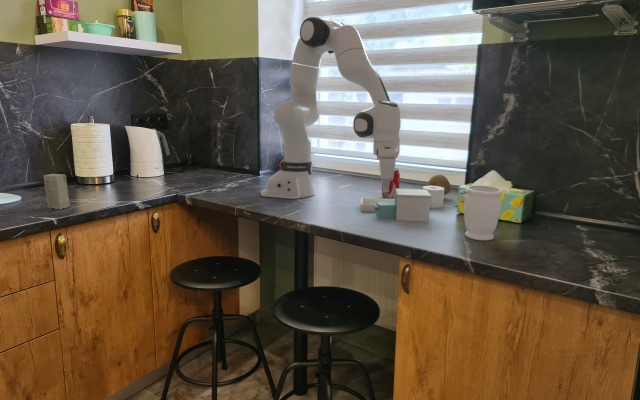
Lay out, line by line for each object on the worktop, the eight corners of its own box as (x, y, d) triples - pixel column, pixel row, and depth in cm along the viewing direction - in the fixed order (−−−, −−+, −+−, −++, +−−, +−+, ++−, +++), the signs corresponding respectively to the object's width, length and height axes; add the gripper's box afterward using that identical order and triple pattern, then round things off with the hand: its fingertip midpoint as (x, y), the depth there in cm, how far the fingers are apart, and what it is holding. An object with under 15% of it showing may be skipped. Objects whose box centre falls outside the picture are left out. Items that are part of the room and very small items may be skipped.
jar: (456, 231, 143) (460, 185, 140) (487, 231, 144) (492, 185, 140) (469, 242, 133) (474, 192, 129) (503, 242, 134) (509, 192, 130)
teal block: (375, 219, 157) (375, 205, 156) (372, 215, 162) (373, 201, 160) (412, 218, 158) (413, 205, 157) (408, 215, 163) (409, 201, 161)
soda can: (398, 199, 185) (400, 170, 182) (381, 198, 186) (382, 170, 183) (399, 196, 192) (400, 168, 189) (382, 195, 193) (383, 167, 190)
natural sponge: (451, 197, 190) (453, 174, 188) (447, 201, 182) (449, 177, 180) (429, 195, 194) (431, 172, 192) (425, 199, 186) (426, 175, 184)
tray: (360, 211, 166) (361, 204, 165) (360, 204, 176) (361, 197, 175) (405, 212, 165) (406, 205, 164) (403, 206, 175) (403, 199, 174)
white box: (396, 220, 155) (397, 194, 153) (394, 212, 165) (395, 188, 163) (428, 221, 154) (430, 195, 152) (424, 213, 164) (426, 189, 162)
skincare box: (70, 207, 166) (66, 174, 163) (60, 209, 162) (56, 176, 159) (57, 205, 168) (53, 173, 165) (47, 208, 164) (42, 175, 161)
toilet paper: (419, 208, 171) (420, 190, 170) (422, 202, 182) (423, 185, 180) (442, 210, 169) (443, 192, 167) (443, 203, 180) (444, 186, 178)
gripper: (376, 146, 165) (375, 183, 168) (378, 152, 145) (377, 195, 148) (393, 146, 164) (392, 183, 168) (398, 153, 145) (396, 195, 148)
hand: (385, 189), depth 158 cm, fingers open, 8 cm apart
